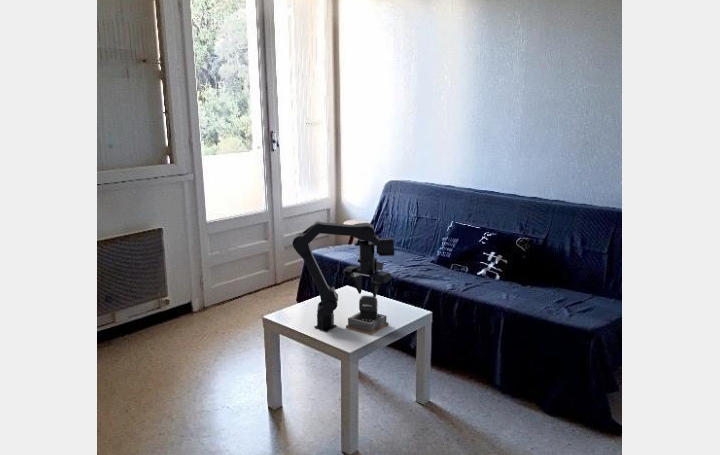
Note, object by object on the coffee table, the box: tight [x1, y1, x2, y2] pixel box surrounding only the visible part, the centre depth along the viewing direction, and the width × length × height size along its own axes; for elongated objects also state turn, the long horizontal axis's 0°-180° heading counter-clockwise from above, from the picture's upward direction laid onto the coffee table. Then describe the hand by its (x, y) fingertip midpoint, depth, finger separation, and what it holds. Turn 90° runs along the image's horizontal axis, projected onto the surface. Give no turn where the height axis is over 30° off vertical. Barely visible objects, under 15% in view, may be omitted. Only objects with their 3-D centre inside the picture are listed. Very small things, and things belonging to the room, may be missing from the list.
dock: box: [345, 311, 390, 336], centre depth 227 cm, size 12×12×4 cm
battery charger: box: [358, 294, 379, 323], centre depth 225 cm, size 7×4×11 cm, turn 76°
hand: (367, 295), depth 224 cm, fingers open, 7 cm apart
